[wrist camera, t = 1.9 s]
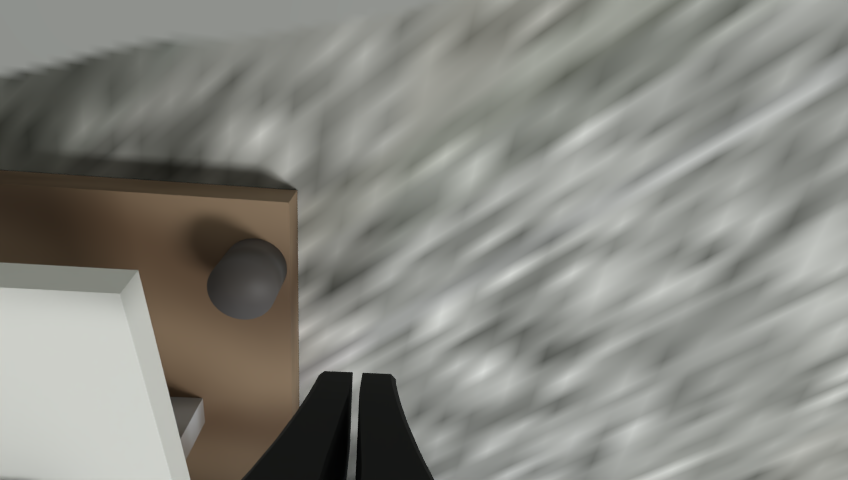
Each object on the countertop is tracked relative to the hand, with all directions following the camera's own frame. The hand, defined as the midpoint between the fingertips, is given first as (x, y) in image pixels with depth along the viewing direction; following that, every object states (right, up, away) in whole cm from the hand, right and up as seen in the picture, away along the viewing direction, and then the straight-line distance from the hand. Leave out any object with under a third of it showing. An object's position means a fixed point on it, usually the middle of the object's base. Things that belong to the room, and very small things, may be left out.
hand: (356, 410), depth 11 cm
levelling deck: (-12, -4, +6) cm, 14 cm away
